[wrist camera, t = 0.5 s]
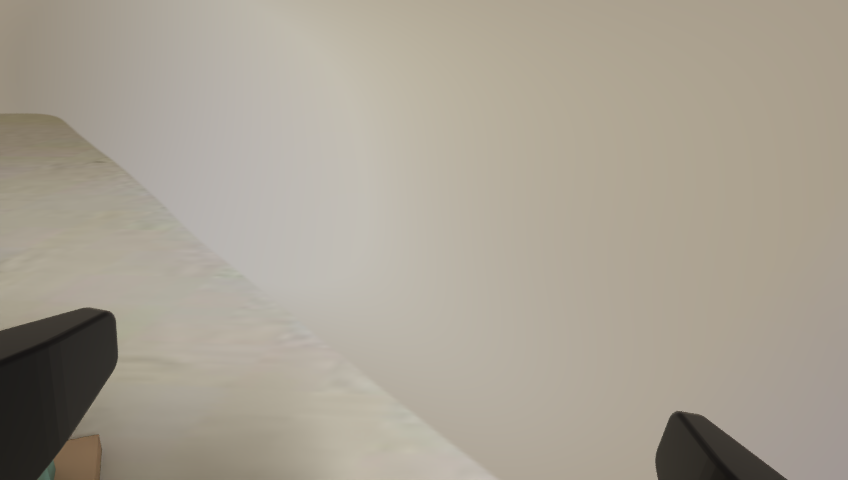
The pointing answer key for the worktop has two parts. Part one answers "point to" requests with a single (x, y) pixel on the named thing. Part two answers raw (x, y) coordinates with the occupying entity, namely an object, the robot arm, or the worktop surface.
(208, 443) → the worktop surface
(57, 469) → the bit holder
